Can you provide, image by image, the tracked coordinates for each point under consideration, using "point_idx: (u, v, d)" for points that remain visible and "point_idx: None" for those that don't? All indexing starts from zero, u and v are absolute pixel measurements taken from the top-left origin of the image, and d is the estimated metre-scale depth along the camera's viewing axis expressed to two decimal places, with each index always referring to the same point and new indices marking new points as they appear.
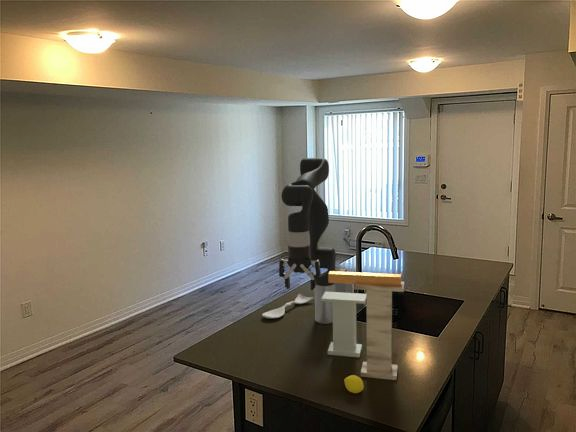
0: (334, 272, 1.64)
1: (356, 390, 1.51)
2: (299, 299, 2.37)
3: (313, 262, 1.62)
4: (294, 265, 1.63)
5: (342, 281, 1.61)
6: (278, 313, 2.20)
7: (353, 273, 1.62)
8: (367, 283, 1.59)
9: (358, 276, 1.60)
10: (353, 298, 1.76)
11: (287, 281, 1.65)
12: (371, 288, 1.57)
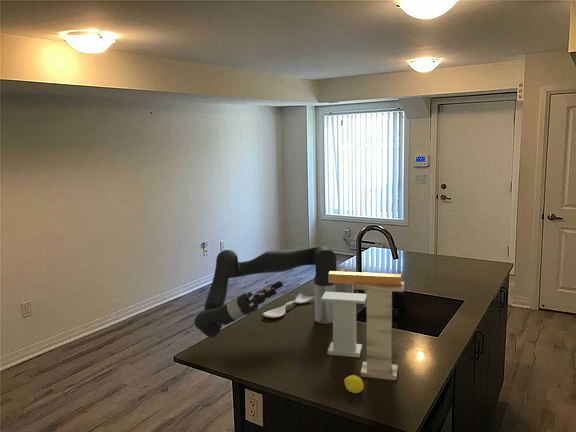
0: (334, 272, 1.64)
1: (356, 390, 1.51)
2: (299, 298, 2.37)
3: None
4: (254, 294, 1.71)
5: (342, 281, 1.61)
6: (279, 312, 2.21)
7: (353, 273, 1.62)
8: (367, 283, 1.59)
9: (358, 276, 1.60)
10: (353, 298, 1.76)
11: (267, 291, 1.67)
12: (371, 288, 1.57)
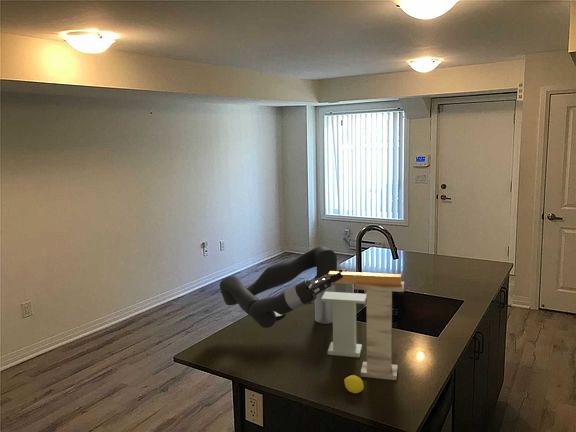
0: (334, 272, 1.64)
1: (356, 390, 1.51)
2: None
3: None
4: (314, 282, 1.64)
5: (342, 281, 1.61)
6: None
7: (353, 273, 1.62)
8: (367, 283, 1.59)
9: (358, 276, 1.60)
10: (353, 298, 1.76)
11: None
12: (371, 288, 1.57)
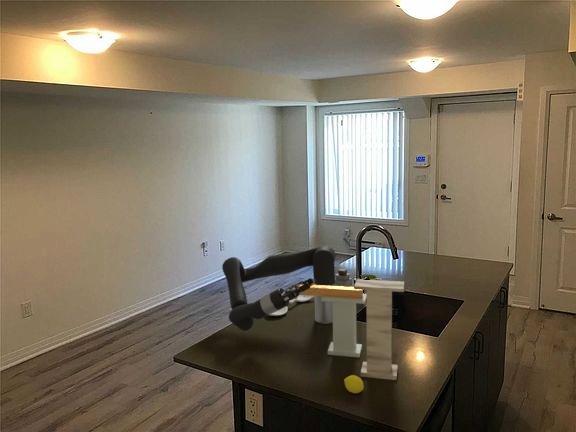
0: None
1: (356, 390, 1.51)
2: (301, 297, 2.40)
3: None
4: (286, 290, 1.83)
5: (311, 293, 1.80)
6: (281, 311, 2.23)
7: (320, 286, 1.80)
8: (333, 295, 1.78)
9: (325, 289, 1.78)
10: (353, 298, 1.76)
11: None
12: (371, 288, 1.57)
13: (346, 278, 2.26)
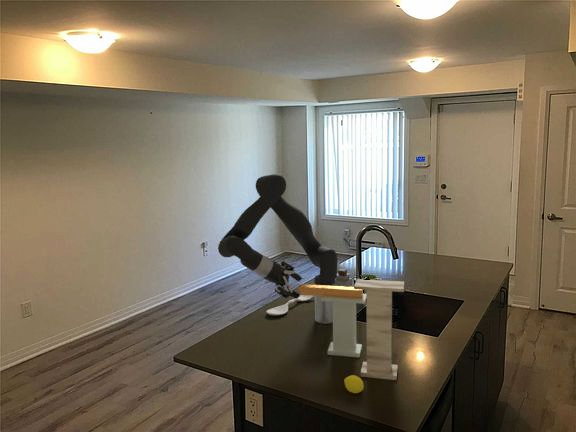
0: (304, 285, 1.83)
1: (356, 390, 1.51)
2: (301, 296, 2.40)
3: (281, 265, 1.85)
4: (284, 277, 1.80)
5: (311, 293, 1.80)
6: (282, 310, 2.24)
7: (321, 286, 1.80)
8: (333, 295, 1.78)
9: (325, 289, 1.79)
10: (353, 298, 1.76)
11: (294, 292, 1.80)
12: (371, 288, 1.57)
13: (346, 278, 2.26)
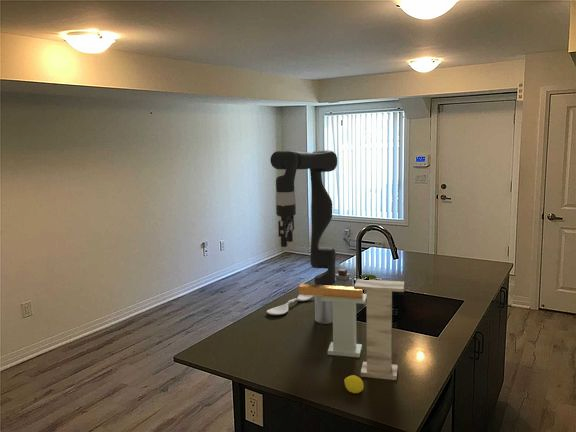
0: (304, 285, 1.83)
1: (356, 390, 1.51)
2: (302, 296, 2.41)
3: (290, 217, 1.89)
4: (290, 222, 1.83)
5: (311, 293, 1.81)
6: (282, 310, 2.24)
7: (321, 286, 1.81)
8: (332, 295, 1.78)
9: (325, 289, 1.79)
10: (353, 298, 1.76)
11: (286, 239, 1.82)
12: (371, 288, 1.57)
13: (346, 278, 2.26)
